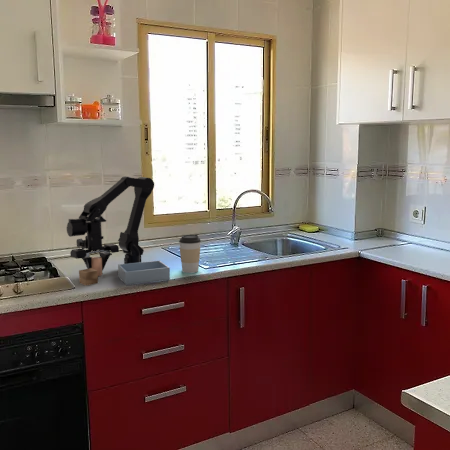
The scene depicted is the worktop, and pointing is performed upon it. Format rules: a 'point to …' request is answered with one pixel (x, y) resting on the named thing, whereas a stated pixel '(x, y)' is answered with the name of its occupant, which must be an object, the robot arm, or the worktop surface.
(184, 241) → the coffee cup
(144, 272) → the tote
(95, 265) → the pink rectangular block
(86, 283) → the cube
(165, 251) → the worktop surface
